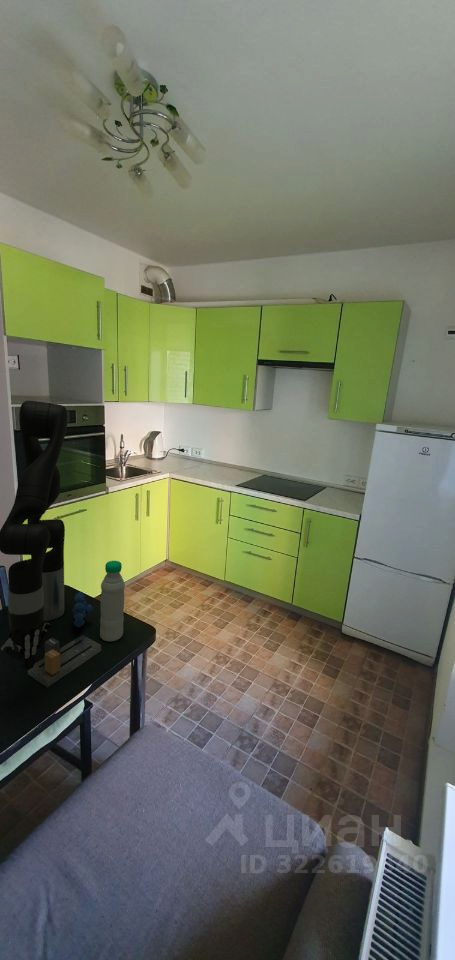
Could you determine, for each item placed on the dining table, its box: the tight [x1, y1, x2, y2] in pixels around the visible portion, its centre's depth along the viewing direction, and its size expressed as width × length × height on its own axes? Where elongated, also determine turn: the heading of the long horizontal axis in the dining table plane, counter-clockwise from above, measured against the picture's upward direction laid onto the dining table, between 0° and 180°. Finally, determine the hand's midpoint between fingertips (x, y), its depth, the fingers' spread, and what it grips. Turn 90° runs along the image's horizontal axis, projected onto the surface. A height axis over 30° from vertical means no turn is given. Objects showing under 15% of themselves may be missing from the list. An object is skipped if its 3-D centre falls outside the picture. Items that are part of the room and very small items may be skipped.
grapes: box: [71, 591, 94, 628], centre depth 125 cm, size 12×7×12 cm, turn 18°
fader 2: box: [44, 649, 60, 675], centre depth 102 cm, size 3×2×5 cm
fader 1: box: [44, 637, 61, 654], centre depth 107 cm, size 3×2×5 cm
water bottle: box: [99, 560, 126, 642], centre depth 120 cm, size 7×7×25 cm
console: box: [27, 634, 102, 688], centre depth 110 cm, size 8×18×2 cm, turn 150°
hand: (28, 667), depth 96 cm, fingers closed
